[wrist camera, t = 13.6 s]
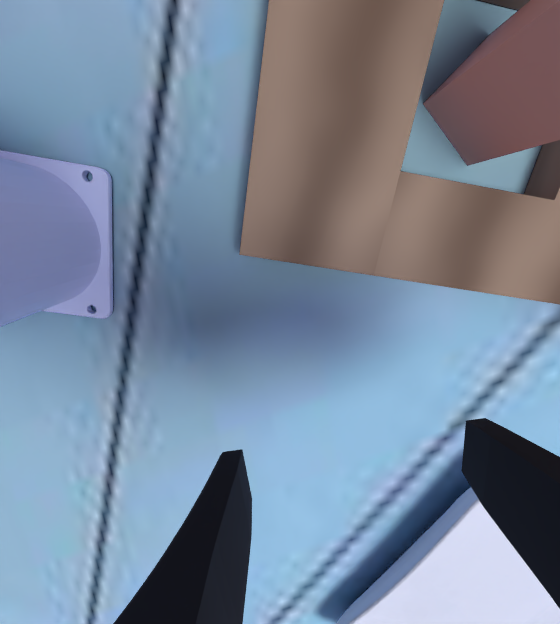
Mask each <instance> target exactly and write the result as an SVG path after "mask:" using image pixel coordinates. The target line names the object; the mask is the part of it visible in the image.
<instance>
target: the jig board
mask: <svg viewBox="0 0 560 624" xmlns="http://www.w3.org/2000/svg"><path fill="white" fill-rule="evenodd" d="M479 1H483V2H487V3H491V4H495V5H500V6H504V7H508V8H512V9H516V10H520V9H521V8H522V7H523V6H524V5H525V4H527V3H528V2H529V1H530V0H479ZM443 3H444V0H269V5H268V14H267V23H266V31H265V40H264V48H263V57H262V65H261V74H260V83H259V91H258V100H257V108H256V117H255V125H254V134H253V143H252V151H251V160H250V168H249V177H248V185H247V194H246V203H245V211H244V220H243V228H242V237H241V246H240V254H239V255H245V256H252V257H258V258H265V259H271V260H278V261H284V262H290V263H297V264H303V265H310V266H316V267H323V268H329V269H336V270H342V271H348V272H355V273H361V274H368V275H374V276H381V277H387V278H393V279H400V280H406V281H413V282H419V283H426V284H432V285H439V286H445V287H451V288H458V289H464V290H471V291H477V292H484V293H490V294H496V295H503V296H509V297H516V298H522V299H529V300H535V301H542V302H548V303H554V304H560V140H558V141H554V142H551V143H547V144H543V145H542V148H541V151H540V153H539V156H538V159H537V161H536V164H535V167H534V169H533V172H532V174H531V177H530V180H529V182H528V185H527V188H526V190H525V193H524V194H519V193H513V192H508V191H503V190H497V189H492V188H487V187H481V186H476V185H471V184H466V183H460V182H455V181H450V180H444V179H439V178H434V177H429V176H423V175H418V174H413V173H407V172H402V171H401V167H402V163H403V159H404V155H405V151H406V148H407V144H408V140H409V136H410V132H411V128H412V124H413V120H414V116H415V112H416V108H417V105H418V101H419V97H420V93H421V89H422V85H423V81H424V77H425V73H426V69H427V65H428V62H429V58H430V54H431V50H432V46H433V42H434V38H435V34H436V30H437V26H438V22H439V19H440V15H441V11H442V7H443Z"/></svg>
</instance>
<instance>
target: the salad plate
mask: <svg viewBox="0 0 560 624" xmlns="http://www.w3.org/2000/svg"><path fill="white" fill-rule="evenodd" d="M336 624H560V609H559V607H558V606H557V605H556V603H555V602H554V600H553V599H552V598H551V596H550V595H549V593H548V592H547V591H546V589H545V588H544V587H543V585H542V584H541V583H540V582H539V580H538V579H537V578H536V576H535V575H534V574H533V572H532V571H531V570H530V568H529V567H528V566H527V564H526V563H525V562H524V560H523V559H522V558H521V556H520V555H519V554H518V552H517V551H516V550H515V548H514V547H513V546H512V545H511V543H510V542H509V541H508V539H507V538H506V537H505V535H504V534H503V533H502V531H501V530H500V529H499V527H498V526H497V525H496V523H495V522H494V521H493V519H492V518H491V517H490V515H489V514H488V512H487V511H486V510H485V508H484V507H483V506H482V504H481V502H480V501H479V499H478V498H477V496H476V494H475V493H474V491H473V490H472V488H471V487H470V488H469V489H468V490H467V491H465V492H464V493H463V494H462V495H461V496H460V497H459V498H458V499H457V500H456V501H455V502H454V503H453V504H452V505H451V506H450V508H449V509H448V510H447V511H446V512H445V513H444V514H443V515H442V516H441V517H440V518H439V519H438V520H437V521H436V522H435V523H434V524H433V525H432V526H431V527H430V528H429V529H428V530H427V531H426V532H425V533H424V534H423V535H422V536H421V537H420V538H418V539H417V540H416V542H415V543H414V544H413V545H412V546H411V547H410V548H409V549H408V550H407V551H406V552H405V553H404V554H403V555H402V556H401V557H400V558H399V559H398V560H397V561H396V562H395V563H394V564H393V565H392V566H391V567H390V568H389V569H388V570H387V571H386V572H385V573H384V574H383V575H382V576H381V577H380V578H379V579H378V580H376V581H375V582H374V583H373V584H372V585H371V586H370V587H369V588H368V589H367V590H366V591H365V592H364V593H363V594H362V595H361V596H360V597H359V598H358V599H357V600H356V601H354V602H353V603H352V604H351V605H350V607H349V608H348V609H347V610H346V611H345V612H344V614H343V615H342V616H341V617H340V618H339V620H338V621H337V623H336Z"/></svg>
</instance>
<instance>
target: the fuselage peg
mask: <svg viewBox="0 0 560 624" xmlns="http://www.w3.org/2000/svg"><path fill="white" fill-rule="evenodd" d="M423 105H424V106H425V107H426V109H427V110H428V111H429V113H430V114H431V116H432V117H433V118H434V120H435V121H436V123H437V124H438V125H439V127H440V128H441V130H442V131H443V132H444V134H445V135H446V137H447V138H448V139H449V141H450V142H451V143H452V145H453V146H454V148H455V149H456V150H457V152H458V153H459V155H460V156H461V157H462V159H463V160H464V162H465V163H466V164H467V166H468V165H471V164H475V163H479V162H482V161H486V160H489V159H493V158H497V157H500V156H504V155H507V154H511V153H515V152H518V151H522V150H525V149H529V148H533V147H536V146H540V145H543V144H547V143H551V142H554V141H558V140H560V0H530V1H529V2H528V3H527V4H525V5H524V6H523V7H522V8H521V9H520V10H518V11H517V12H516V13H515V14H514V15H512V16H511V17H510V18H509V19H508V20H506V21H505V22H504V23H503V24H502V25H500V26H499V27H498V28H497V29H496V30H495V31H493V32H492V33H491V34H490V35H489V36H488V37H487V38H486V39H485V40H484V41H483V42H482V43H481V44H480V45H479V46H478V47H477V48H476V49H475V50H474V51H473V52H472V53H471V54H470V55H469V57H468V58H467V59H466V60H465V61H464V62H463V63H462V64H461V65H460V66H459V67H458V68H457V69H456V70H455V71H454V72H453V73H452V74H451V75H450V76H449V77H448V78H447V79H446V80H445V82H444V83H443V84H442V85H441V86H440V87H439V88H438V89H437V90H436V91H435V92H434V93H433V94H432V95H431V96H430V97H429V98H428V99H427V100H426V101H425V102H424V103H423Z"/></svg>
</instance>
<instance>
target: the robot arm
mask: <svg viewBox="0 0 560 624" xmlns="http://www.w3.org/2000/svg"><path fill="white" fill-rule="evenodd" d="M88 172H91V173H92V176H93V179H92V181H91V182H89V181H88V180H87V177H86V176H87V173H88ZM91 305H93V306H95V307H96V312H95V311H93V310H92V309H91ZM39 311H47V312H55V313H62V314H70V315H78V316H85V317H93V318H100V319H104V318H107V317H109V316H110V315H111V314H112V312H113V258H112V179H111V176H110V174H109V173H108V172H107V171H106V170H105V169H102V168H99V167H94V166H88V165H82V164H77V163H71V162H65V161H59V160H54V159H48V158H42V157H36V156H31V155H25V154H19V153H13V152H8V151H2V150H0V327H1V326H4V325H6V324H9V323H11V322H14V321H17V320H19V319H22V318H24V317H27V316H29V315H32V314H34V313H37V312H39ZM462 472H463V474H464V476H465V478H466V479H467V481H468V483H469V484H470V486H471V488H472V490H473V491H474V493H475V494H476V496H477V498H478V499H479V501H480V502H481V504H482V506H483V507H484V508H485V510H486V511H487V512H488V514H489V515H490V517H491V518H492V519H493V521H494V522H495V523H496V525H497V526H498V527H499V529H500V530H501V531H502V533H503V534H504V535H505V537H506V538H507V539H508V541H509V542H510V543H511V545H512V546H513V547H514V548H515V550H516V551H517V552H518V554H519V555H520V556H521V558H522V559H523V560H524V562H525V563H526V564H527V566H528V567H529V568H530V570H531V571H532V572H533V574H534V575H535V576H536V578H537V579H538V580H539V582H540V583H541V584H542V585H543V587H544V588H545V589H546V591H547V592H548V593H549V595H550V596H551V598H552V599H553V600H554V602H555V603H556V605H557V606H558V607H559V609H560V457H559V456H557V455H555V454H553V453H551V452H549V451H547V450H545V449H543V448H542V447H540V446H538V445H536V444H534V443H532V442H530V441H528V440H527V439H525V438H523V437H521V436H519V435H517V434H515V433H513V432H512V431H510V430H508V429H506V428H504V427H502V426H500V425H498V424H496V423H494V422H492V421H490V420H488V419H486V418H483V419H475V420H467V421H466V428H465V439H464V451H463V462H462ZM251 531H252V497H251V492H250V486H249V481H248V476H247V471H246V466H245V461H244V456H243V451H242V450H235V451H227V452H223V453H222V454H221V455H220V457H219V459H218V461H217V463H216V465H215V467H214V469H213V471H212V473H211V475H210V477H209V479H208V481H207V483H206V484H205V486H204V488H203V490H202V492H201V494H200V495H199V497H198V499H197V501H196V502H195V504H194V506H193V508H192V509H191V511H190V513H189V514H188V516H187V518H186V520H185V521H184V523H183V524H182V526H181V528H180V529H179V531H178V532H177V534H176V535H175V537H174V539H173V540H172V542H171V543H170V545H169V546H168V548H167V550H166V551H165V553H164V554H163V556H162V557H161V559H160V560H159V562H158V563H157V565H156V566H155V568H154V569H153V571H152V572H151V573H150V575H149V576H148V578H147V579H146V581H145V582H144V583H143V585H142V586H141V587H140V589H139V590H138V592H137V593H136V594H135V596H134V597H133V599H132V600H131V601H130V603H129V604H128V605H127V607H126V608H125V609H124V611H123V612H122V613H121V614H120V616H119V617H118V618H117V620H116V621H115V622H114V623H113V624H242V622H243V613H244V603H245V594H246V584H247V575H248V565H249V555H250V545H251Z"/></svg>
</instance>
